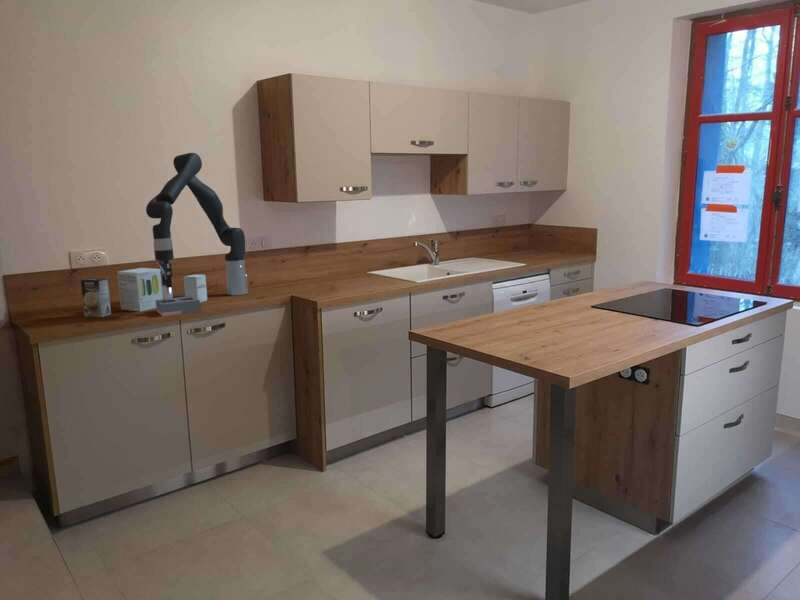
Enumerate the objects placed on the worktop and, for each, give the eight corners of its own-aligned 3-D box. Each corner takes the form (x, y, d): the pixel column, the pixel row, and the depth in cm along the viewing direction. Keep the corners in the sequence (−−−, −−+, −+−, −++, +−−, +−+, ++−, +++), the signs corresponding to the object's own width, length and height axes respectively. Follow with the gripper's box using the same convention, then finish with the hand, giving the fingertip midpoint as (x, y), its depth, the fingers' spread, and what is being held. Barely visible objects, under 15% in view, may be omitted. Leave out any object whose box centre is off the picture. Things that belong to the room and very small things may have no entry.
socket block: (193, 306, 288) (192, 295, 287) (200, 311, 276) (199, 300, 275) (156, 311, 280) (155, 299, 279) (162, 316, 268) (161, 304, 267)
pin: (173, 307, 278) (170, 285, 276) (174, 309, 275) (172, 286, 273) (163, 308, 276) (161, 286, 275) (165, 310, 273) (162, 287, 271)
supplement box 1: (140, 311, 279) (136, 272, 276) (120, 309, 286) (116, 271, 282) (164, 306, 291) (160, 268, 287) (145, 304, 297) (141, 267, 294)
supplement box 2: (198, 303, 295) (195, 276, 293) (185, 303, 298) (182, 276, 295) (208, 300, 302) (205, 274, 300) (195, 300, 305) (192, 274, 302)
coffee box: (83, 316, 272) (79, 279, 269) (94, 313, 278) (89, 277, 275) (102, 317, 270) (98, 280, 267) (112, 314, 276) (108, 277, 273)
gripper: (175, 249, 267) (179, 287, 270) (169, 246, 279) (173, 283, 282) (157, 250, 263) (161, 289, 266) (151, 248, 275) (155, 285, 278)
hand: (167, 286), depth 274 cm, fingers open, 8 cm apart
